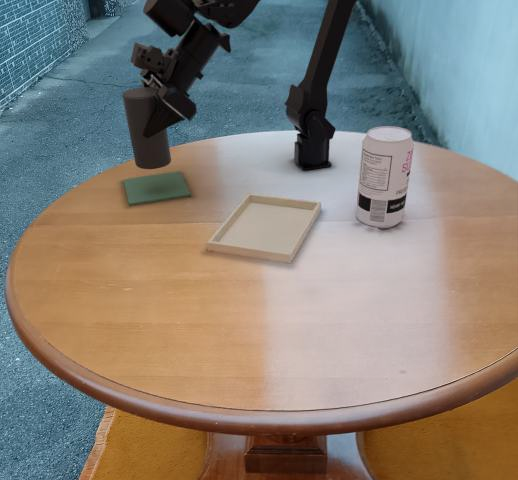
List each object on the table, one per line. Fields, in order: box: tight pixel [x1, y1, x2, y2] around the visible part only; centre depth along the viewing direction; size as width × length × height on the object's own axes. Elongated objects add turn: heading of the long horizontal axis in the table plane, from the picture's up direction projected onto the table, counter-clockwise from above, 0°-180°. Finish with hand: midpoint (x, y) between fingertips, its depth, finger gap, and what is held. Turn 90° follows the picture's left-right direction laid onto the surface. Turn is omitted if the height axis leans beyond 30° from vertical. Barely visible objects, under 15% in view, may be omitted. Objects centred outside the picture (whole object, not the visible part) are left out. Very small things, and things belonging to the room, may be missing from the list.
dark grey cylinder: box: [121, 86, 172, 170], centre depth 98 cm, size 7×7×12 cm
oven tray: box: [206, 192, 322, 264], centre depth 93 cm, size 19×14×2 cm
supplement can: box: [355, 125, 415, 230], centre depth 90 cm, size 8×8×15 cm
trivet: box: [122, 170, 192, 207], centre depth 108 cm, size 12×12×1 cm
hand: (140, 130), depth 98 cm, fingers closed on dark grey cylinder, 7 cm apart
